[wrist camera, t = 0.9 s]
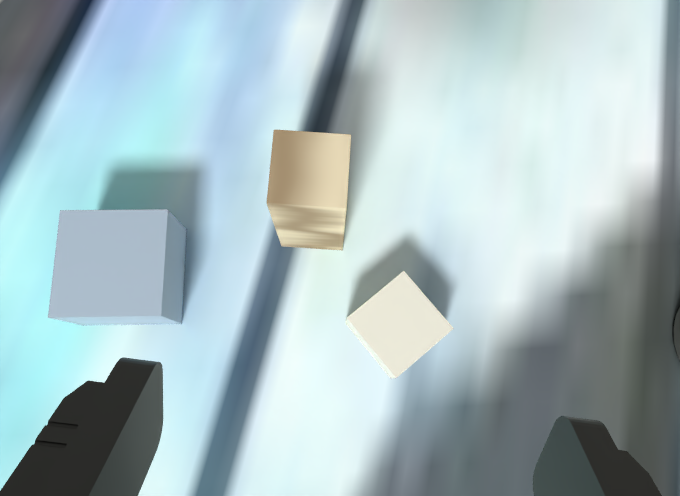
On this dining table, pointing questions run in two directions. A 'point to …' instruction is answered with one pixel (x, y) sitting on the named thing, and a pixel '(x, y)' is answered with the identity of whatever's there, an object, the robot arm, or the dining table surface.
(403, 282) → the cream block
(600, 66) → the dining table surface
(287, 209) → the oak block
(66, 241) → the blue base block
